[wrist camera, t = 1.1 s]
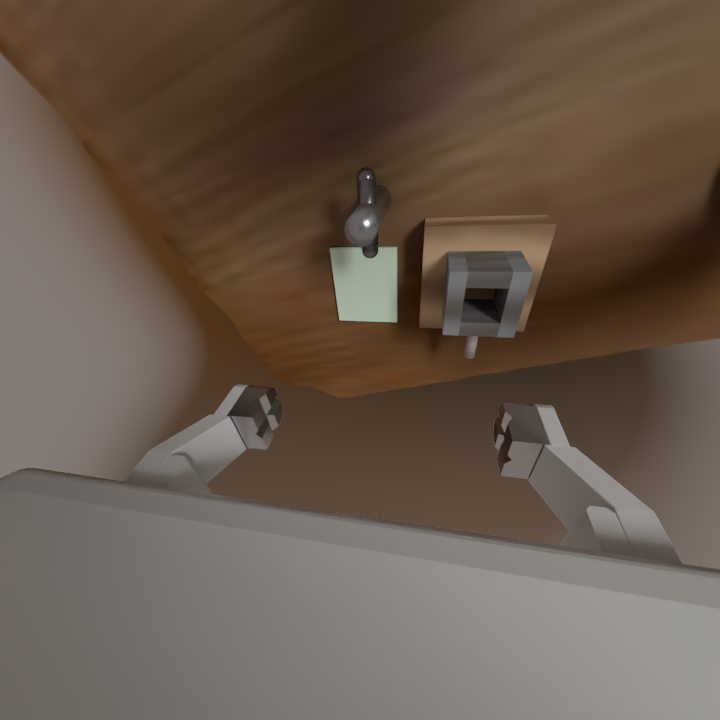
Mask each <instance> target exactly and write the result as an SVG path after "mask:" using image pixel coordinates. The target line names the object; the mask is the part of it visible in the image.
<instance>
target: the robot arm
mask: <svg viewBox="0 0 720 720" xmlns="http://www.w3.org/2000/svg"><path fill="white" fill-rule="evenodd" d="M277 395H278V394H277V391H276V389H275V388H273V387H263V386H253V385H240V384H238V385H236V386H234V387H233V389H232V390H231V391H230V393H229V394H228V395H227V397H226V398H225V400H224V401H223V402H222V404H221V405H220V406H219V408H218V409H217V411H216V412H215V413H214V415H208V416H207V417H205V418H203V419H202V420H200V421H198V422H197V423H195V424H193V425H191V426H190V427H188V428H186V429H185V430H183V431H181V432H180V433H178V434H176V435H175V436H173V437H171V438H169V439H168V440H166V441H164V442H163V443H161V444H159V445H158V446H156V447H154V448H153V449H151V450H150V451H148V453H147V454H146V455H145V456H144V457H143V459H142V460H141V461H140V462H139V463H138V464H137V466H136V467H135V468H134V469H133V470H132V472H131V473H130V474H129V475H128V476H127V478H126V479H125V480H124V481H118V480H111V479H104V478H97V477H91V476H84V475H77V474H71V473H64V472H57V471H51V470H44V469H38V468H26V469H21V470H18V471H15V472H13V473H11V474H8V475H6V476H3V477H1V478H0V720H720V569H716V568H709V567H701V566H695V565H688V564H682V562H681V560H680V558H679V556H678V555H677V553H676V551H675V549H674V547H673V546H672V544H671V542H670V540H669V538H668V536H667V535H666V533H665V531H664V529H663V527H662V525H661V524H660V522H659V520H658V518H657V516H656V515H655V513H654V512H653V511H652V510H651V509H649V508H648V507H647V506H646V505H644V504H643V503H642V502H641V501H640V500H639V499H637V498H636V497H635V496H634V495H633V494H631V493H630V492H629V491H628V490H626V489H625V488H624V487H623V486H622V485H620V484H619V483H618V482H617V481H615V480H614V479H613V478H612V477H611V476H609V475H608V474H607V473H606V472H605V471H603V470H602V469H601V468H600V467H598V466H597V465H596V464H595V463H594V462H592V461H591V460H590V459H589V458H587V457H586V456H585V455H584V454H583V453H581V452H580V451H579V450H577V449H576V448H574V447H570V446H569V444H568V441H567V439H566V436H565V434H564V431H563V429H562V427H561V424H560V422H559V419H558V417H557V415H556V412H555V410H554V408H553V407H552V406H551V405H536V404H534V405H533V404H519V403H501V404H500V405H499V409H498V413H499V417H498V418H497V419H496V420H495V424H494V433H493V436H494V444H495V447H496V448H497V449H498V450H499V453H498V457H497V460H498V465H499V470H500V475H501V476H507V477H515V478H522V479H529V482H530V483H531V485H532V486H533V487H534V488H535V489H536V491H537V492H538V493H539V494H540V495H541V497H542V498H543V499H544V501H545V502H546V503H547V504H548V505H549V507H550V508H551V509H552V510H553V512H554V513H555V514H556V515H557V516H558V518H559V519H560V520H561V521H562V523H563V524H564V525H565V526H566V528H567V529H568V530H569V531H570V532H569V533H568V534H567V536H566V537H565V538H564V539H563V541H562V542H561V544H560V545H552V544H545V543H539V542H532V541H525V540H518V539H511V538H505V537H498V536H491V535H484V534H478V533H471V532H464V531H457V530H450V529H444V528H436V527H430V526H423V525H417V524H410V523H403V522H396V521H390V520H383V519H375V518H369V517H362V516H356V515H349V514H342V513H334V512H328V511H321V510H314V509H308V508H301V507H294V506H287V505H281V504H274V503H267V502H260V501H253V500H246V499H240V498H233V497H226V496H219V495H213V494H212V492H211V491H210V490H209V489H208V487H207V486H206V484H207V483H208V482H209V481H210V480H211V479H212V478H214V477H215V476H216V475H217V474H218V473H219V472H221V471H222V470H223V469H224V468H225V467H226V466H228V465H229V464H230V463H231V462H232V461H233V460H234V459H236V458H237V457H238V456H239V455H240V454H241V453H242V452H244V451H245V450H246V448H253V449H265V450H267V448H268V446H269V444H270V442H271V440H272V438H273V436H274V434H273V431H272V430H274V429H275V428H276V427H278V426H279V424H280V421H281V419H282V413H283V412H282V405H281V403H280V402H279V401H278V400H277V399H276V397H277Z"/></svg>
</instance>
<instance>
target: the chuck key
mask: <svg viewBox="0 0 720 720" xmlns="http://www.w3.org/2000/svg"><path fill="white" fill-rule="evenodd" d="M357 190H358V204H359V205H358V206H357V207H356V209H355V210H354V211H353V213H352V214H351V215H350V217H349V218H348V219H347V221H346V223H345V228H344V231H345V235H346V238H347V239H348V241H349V242H350V243H352V244H353V245H355V246H358V247H362V253H363V255H364V256H365V257H366V258H369V259H371V258H374V257H375V256H376V255H377V254H378V229H379V227H380V225H381V223H382V220H383V218H384V216H385V214H386V211H387V209H388V207H389V205H390V201H391V198H390V194H389V192H388V190H387V189H386V188H385V187H383V186H376V176H375V173H374V171H373V170H372V169H371V168H368V167H365V168H362V169H361V170H360V171H359V172H358V174H357Z"/></svg>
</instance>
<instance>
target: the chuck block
mask: <svg viewBox="0 0 720 720" xmlns="http://www.w3.org/2000/svg"><path fill="white" fill-rule="evenodd" d="M556 226H557V223H556V222H555V221H554V220H553V219H552V218H551V217H550V216H549V215H517V216H482V217H447V218H425V230H424V248H423V267H422V285H421V304H420V322H419V328H441V329H442V332H443V335H456V336H467V339H466V345H465V351H464V357H466V358H468V359H472V358H474V356H475V351H476V346H477V341H478V336H480V337H504V338H514V336H515V333H516V331H520V332H524V329H525V326H526V322H527V319H528V316H529V313H530V310H531V306H532V303H533V300H534V297H535V294H536V290H537V287H538V284H539V281H540V277H541V274H542V271H543V268H544V265H545V261H546V258H547V255H548V252H549V249H550V245H551V242H552V239H553V236H554V233H555V229H556Z"/></svg>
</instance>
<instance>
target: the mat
mask: <svg viewBox="0 0 720 720" xmlns="http://www.w3.org/2000/svg"><path fill="white" fill-rule="evenodd" d="M330 256H331V263H332V271H333V278H334V285H335V292H336V300H337V307H338V314H339V320H343V321H372V322H397V247H378V254H377V255H376V256H375V257H374V258H371V259H369V258H366V257H365V256H364V255H363V253H362V247H330Z"/></svg>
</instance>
